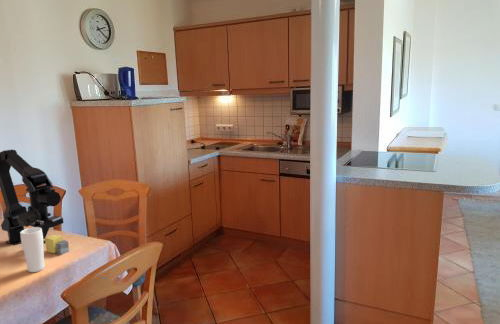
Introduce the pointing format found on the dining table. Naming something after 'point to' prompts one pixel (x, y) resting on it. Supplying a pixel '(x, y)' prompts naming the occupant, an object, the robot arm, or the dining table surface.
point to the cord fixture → (61, 247)
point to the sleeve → (52, 243)
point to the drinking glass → (33, 248)
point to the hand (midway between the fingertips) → (43, 239)
